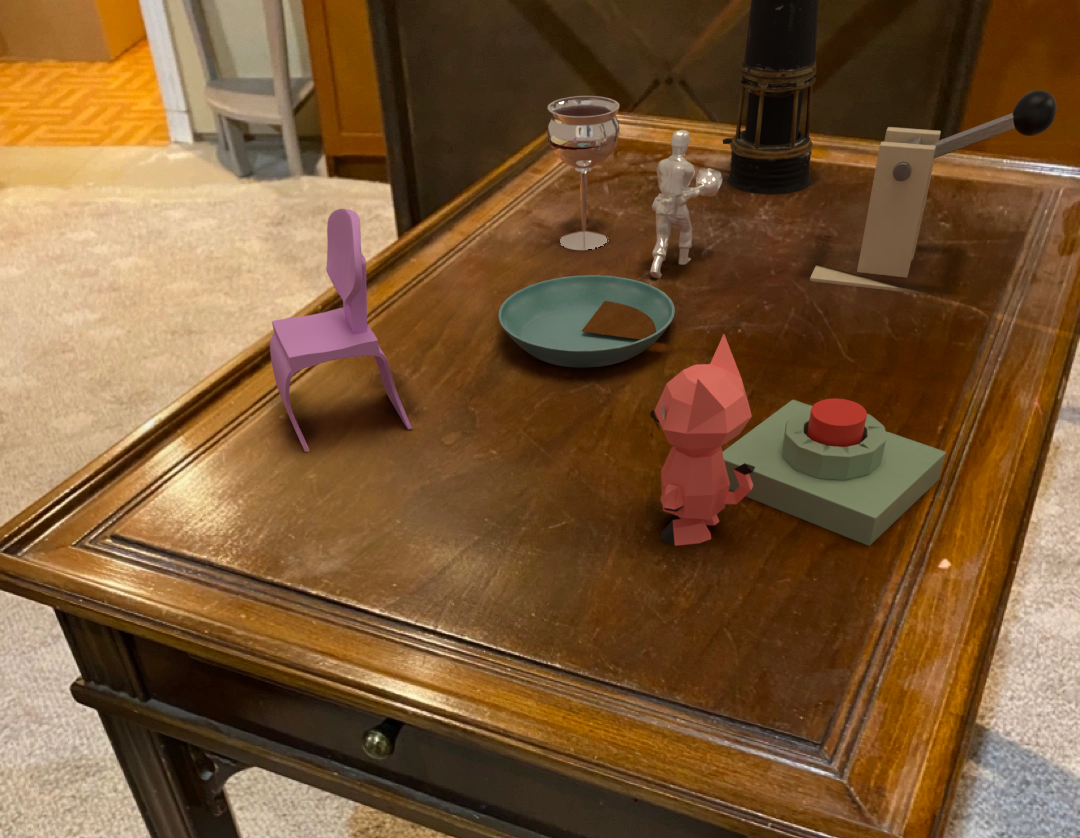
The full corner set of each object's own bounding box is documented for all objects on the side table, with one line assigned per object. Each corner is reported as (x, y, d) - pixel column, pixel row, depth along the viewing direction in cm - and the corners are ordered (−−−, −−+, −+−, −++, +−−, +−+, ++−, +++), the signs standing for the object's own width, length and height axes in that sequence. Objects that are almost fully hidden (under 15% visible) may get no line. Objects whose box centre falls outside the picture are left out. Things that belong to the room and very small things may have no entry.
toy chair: (279, 409, 83) (234, 209, 72) (387, 387, 85) (359, 189, 74) (301, 461, 77) (255, 252, 66) (416, 435, 79) (390, 229, 68)
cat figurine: (661, 489, 73) (671, 321, 64) (758, 507, 71) (782, 336, 62) (629, 546, 68) (636, 373, 60) (733, 567, 66) (755, 392, 58)
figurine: (633, 287, 97) (638, 145, 88) (670, 251, 102) (678, 114, 94) (682, 295, 95) (692, 151, 87) (717, 258, 101) (729, 119, 92)
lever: (1060, 120, 85) (1053, 78, 83) (1059, 132, 83) (1052, 89, 81) (896, 179, 92) (887, 142, 90) (891, 192, 90) (882, 153, 88)
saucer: (633, 292, 96) (634, 263, 94) (701, 362, 86) (704, 330, 84) (479, 319, 93) (477, 289, 91) (531, 395, 83) (530, 363, 81)
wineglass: (596, 258, 102) (597, 121, 93) (537, 246, 104) (532, 111, 96) (629, 234, 106) (633, 101, 97) (571, 223, 108) (570, 92, 100)
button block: (939, 479, 73) (953, 427, 70) (869, 547, 67) (881, 493, 65) (788, 426, 78) (796, 375, 76) (713, 484, 73) (718, 432, 70)
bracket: (955, 267, 98) (989, 127, 89) (945, 307, 92) (981, 161, 83) (825, 253, 101) (846, 116, 93) (808, 290, 95) (829, 148, 87)
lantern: (714, 178, 116) (742, -176, 95) (793, 170, 117) (838, -182, 96) (740, 207, 110) (776, -166, 89) (823, 198, 111) (878, -173, 90)
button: (871, 432, 70) (877, 409, 69) (845, 455, 69) (849, 431, 67) (824, 416, 72) (828, 392, 71) (796, 437, 70) (800, 414, 69)
